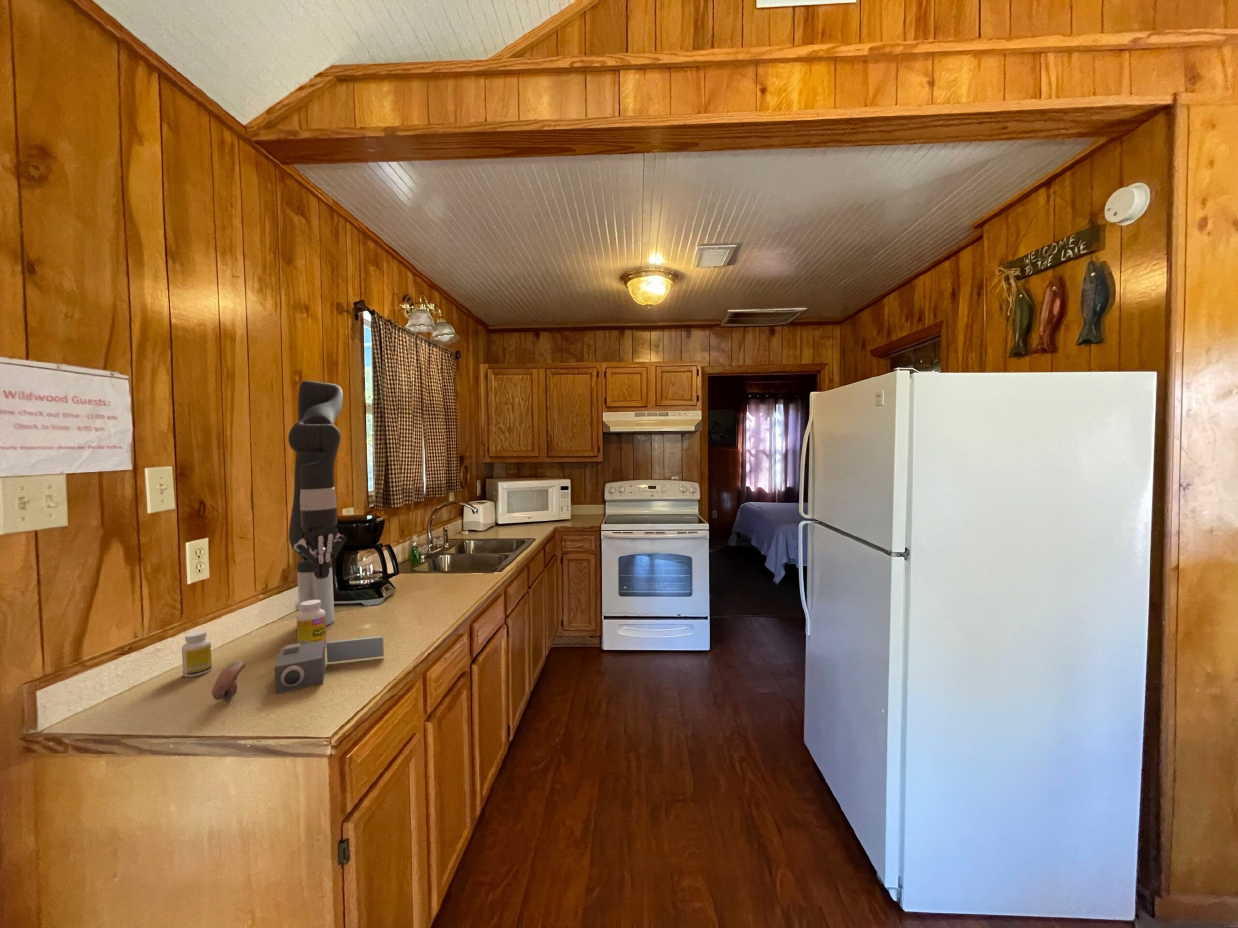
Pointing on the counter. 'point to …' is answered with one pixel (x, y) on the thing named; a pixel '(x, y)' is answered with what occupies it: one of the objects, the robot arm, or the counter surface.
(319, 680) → the camera box
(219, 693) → the mushroom
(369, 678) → the counter surface
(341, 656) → the door
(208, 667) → the supplement bottle
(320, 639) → the supplement bottle
